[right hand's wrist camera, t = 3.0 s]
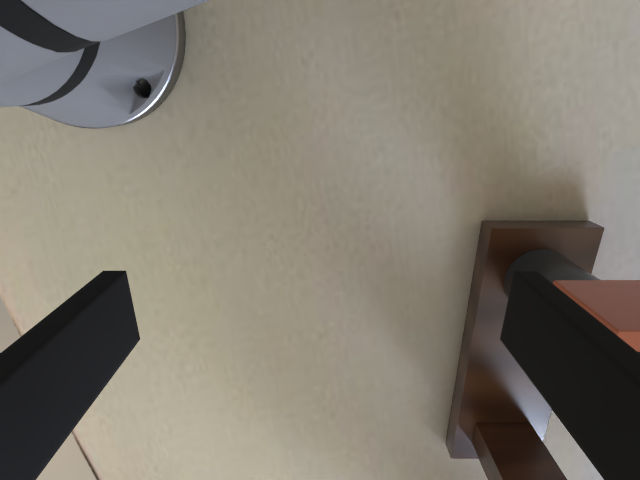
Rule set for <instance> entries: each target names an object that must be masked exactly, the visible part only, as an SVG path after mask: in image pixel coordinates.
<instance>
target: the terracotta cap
mask: <svg viewBox="0 0 640 480" xmlns="http://www.w3.org/2000/svg"><path fill="white" fill-rule="evenodd" d="M553 284H554V285H555V286H556V287H557V288H559V289H560V290H561V291H562V292H564V293H565V294H566V295H567V296H569V297H570V298H571V299H572V300H574V301H575V302H576V303H577V304H579V305H580V306H581V307H582V308H584V309H585V310H586V311H587V312H589V313H590V314H591V315H592V316H594V317H595V318H596V319H597V320H599V321H600V322H601V323H602V324H603V325H605V326H606V327H607V328H608V329H610V330H611V331H612V332H613V333H615V334H616V335H617V336H618V337H620V338H621V339H622V340H623V341H625V342H626V343H627V344H628V345H630V346H631V347H632V348H633V349H635V350H636V351H637V352H640V280H554V281H553Z"/></svg>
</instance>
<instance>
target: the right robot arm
mask: <svg viewBox="0 0 640 480" xmlns="http://www.w3.org/2000/svg"><path fill="white" fill-rule="evenodd" d="M207 1H209V0H0V107H12V106H20V107H23V108H25V109H28V110H30V111H33V112H35V113H38V114H40V115H43V116H45V117H48V118H50V119H53V120H55V121H58V122H61V123H64V124H67V125H71V126H75V127H82V128H107V127H114V126H120V125H125V124H129V123H132V122H135V121H137V120H139V119H141V118H143V117H145V116H147V115H148V114H150V113H151V112H153V111H154V110H155V109H156V108H157V107H158V106H160V105H161V103H162V102H163V101H164V100H165V99H166V98H167V96H168V95H169V94H170V92H171V91H172V89H173V87H174V85H175V83H176V81H177V79H178V76H179V74H180V71H181V67H182V64H183V59H184V53H185V36H186V34H185V22H184V15H183V10H186V9H189V8H191V7H194V6H196V5H199V4H201V3H204V2H207ZM139 340H140V336H139V332H138V327H137V322H136V317H135V312H134V307H133V303H132V298H131V293H130V288H129V283H128V278H127V273H126V271H103V272H101V273H100V274H99V275H98V276H96V277H95V278H94V279H93V280H91V281H90V282H89V283H88V284H86V285H85V286H84V287H83V288H81V289H80V290H79V291H78V292H76V293H75V294H74V295H73V296H71V297H70V298H69V299H68V300H66V301H65V302H64V303H63V304H61V305H60V306H59V307H58V308H56V309H55V310H54V311H53V312H51V313H50V314H49V315H48V316H46V317H45V318H44V319H43V320H41V321H40V322H39V323H38V324H37V325H35V326H34V327H33V328H32V329H30V330H29V331H28V332H27V333H25V334H24V335H23V336H22V337H20V338H19V339H18V340H17V341H15V342H14V343H13V344H12V345H10V346H9V347H8V348H7V349H5V350H4V351H3V352H2V353H0V480H36V479H37V477H38V476H39V475H40V473H41V472H42V471H43V469H44V468H45V467H46V465H47V464H48V462H49V461H50V460H51V458H52V457H53V456H54V454H55V453H56V452H57V450H58V449H59V448H60V446H61V445H62V444H63V442H64V441H65V440H66V438H67V437H68V436H69V434H70V433H71V432H72V430H73V429H74V427H75V426H76V425H77V423H78V422H79V421H80V419H81V418H82V417H83V415H84V414H85V413H86V411H87V410H88V409H89V407H90V406H91V405H92V403H93V402H94V401H95V399H96V398H97V397H98V395H99V394H100V392H101V391H102V390H103V388H104V387H105V386H106V384H107V383H108V382H109V380H110V379H111V378H112V376H113V375H114V374H115V372H116V371H117V370H118V368H119V367H120V366H121V364H122V363H123V361H124V360H125V359H126V357H127V356H128V355H129V353H130V352H131V351H132V349H133V348H134V347H135V345H136V344H137V343H138V341H139ZM500 340H501V341H502V343H503V344H504V345H505V347H506V348H507V349H508V351H509V352H510V353H511V355H512V356H513V357H514V359H515V360H516V361H517V363H518V364H519V366H520V367H521V368H522V370H523V371H524V372H525V374H526V375H527V376H528V378H529V379H530V380H531V382H532V383H533V384H534V386H535V387H536V388H537V390H538V391H539V392H540V394H541V395H542V397H543V398H544V399H545V401H546V402H547V403H548V405H549V406H550V407H551V409H552V410H553V411H554V413H555V414H556V415H557V417H558V418H559V419H560V421H561V422H562V423H563V425H564V426H565V427H566V429H567V430H568V432H569V433H570V434H571V436H572V437H573V438H574V440H575V441H576V442H577V444H578V445H579V446H580V448H581V449H582V450H583V452H584V453H585V454H586V456H587V457H588V458H589V460H590V461H591V462H592V464H593V465H594V467H595V468H596V469H597V471H598V472H599V473H600V475H601V476H602V477H603V479H604V480H640V352H637V351H636V350H635V349H633V348H632V347H631V346H630V345H628V344H627V343H626V342H625V341H623V340H622V339H621V338H620V337H618V336H617V335H616V334H615V333H613V332H612V331H611V330H610V329H608V328H607V327H606V326H605V325H603V324H602V323H601V322H600V321H599V320H597V319H596V318H595V317H594V316H592V315H591V314H590V313H589V312H587V311H586V310H585V309H584V308H582V307H581V306H580V305H579V304H577V303H576V302H575V301H574V300H572V299H571V298H570V297H569V296H567V295H566V294H565V293H564V292H562V291H561V290H560V289H559V288H557V287H556V286H555V285H554V284H552V283H551V282H550V281H549V280H547V279H546V278H545V277H544V276H542V275H541V274H540V273H539V272H537V271H514V273H513V278H512V283H511V288H510V293H509V298H508V303H507V307H506V312H505V317H504V322H503V327H502V332H501V336H500Z"/></svg>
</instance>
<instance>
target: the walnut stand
mask: <svg viewBox="0 0 640 480" xmlns="http://www.w3.org/2000/svg"><path fill="white" fill-rule="evenodd" d="M603 231H604V228H603V227H601V226H599V225H597V224H595V223H593V222H590V221H482V224H481V230H480V236H479V242H478V249H477V255H476V261H475V267H474V273H473V279H472V285H471V291H470V298H469V304H468V310H467V316H466V322H465V328H464V334H463V340H462V347H461V353H460V359H459V365H458V371H457V377H456V383H455V389H454V396H453V402H452V408H451V414H450V420H449V426H448V432H447V439H446V446H447V449H448V452H449V454H450V457H451V459H479V460H480V463H481V465H482V467H483V469H484V472H485V474H486V476H487V479H488V480H567V479H566V477H565V476H564V474H563V473H562V471H561V469H560V468H559V466H558V465H557V463H556V462H555V460H554V459H553V457H552V456H551V454H550V452H549V451H548V449H547V448H546V446H545V445H544V443H543V439H544V436H545V432H546V429H547V425H548V422H549V418H550V415H551V411H552V409H551V407H550V406H549V405H548V403H547V402H546V401H545V399H544V398H543V397H542V395H541V394H540V392H539V391H538V390H537V388H536V387H535V386H534V384H533V383H532V382H531V380H530V379H529V378H528V376H527V375H526V374H525V372H524V371H523V370H522V368H521V367H520V366H519V364H518V363H517V361H516V360H515V359H514V357H513V356H512V355H511V353H510V352H509V351H508V349H507V348H506V347H505V345H504V344H503V343H502V341H501V340H500V336H501V332H502V327H503V322H504V317H505V312H506V307H507V303H508V298H509V293H510V288H511V283H512V278H513V273H514V271H537V272H539V273H540V274H541V275H542V276H544V277H545V278H546V279H547V280H549V281H550V282H551V283H552V284H553V281H554V280H599V279H598V278H596V277H595V276H593V275H592V274H591V273H592V269H593V266H594V262H595V259H596V255H597V252H598V248H599V245H600V242H601V238H602V235H603Z"/></svg>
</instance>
